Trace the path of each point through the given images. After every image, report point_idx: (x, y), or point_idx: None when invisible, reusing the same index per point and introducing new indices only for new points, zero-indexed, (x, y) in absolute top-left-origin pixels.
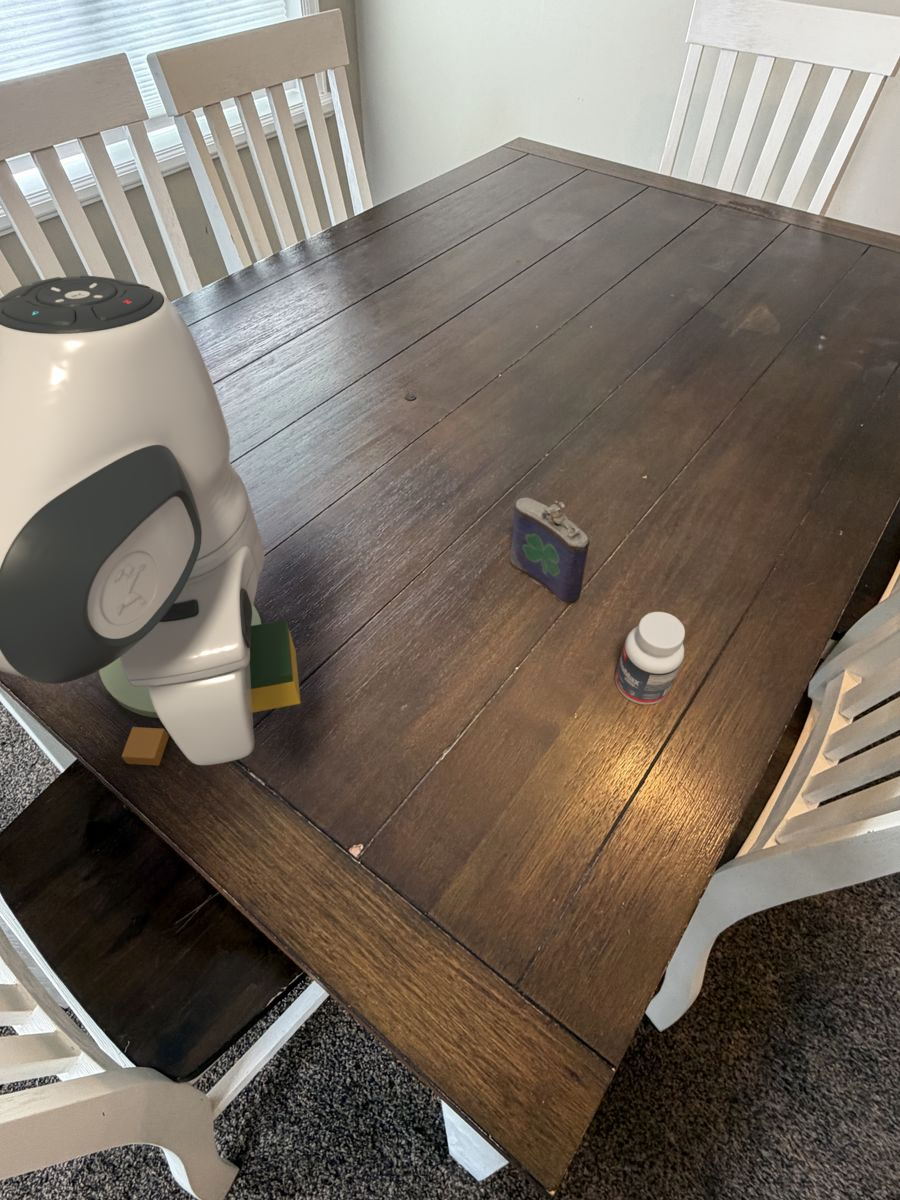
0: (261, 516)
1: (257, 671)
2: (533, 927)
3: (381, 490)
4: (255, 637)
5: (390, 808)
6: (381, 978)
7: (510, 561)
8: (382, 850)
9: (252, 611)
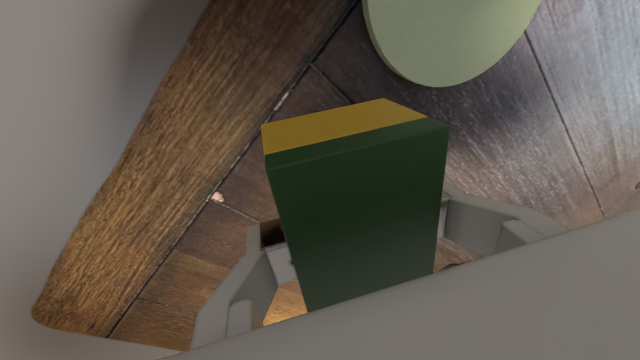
0: (593, 58)
1: (326, 304)
2: (179, 301)
3: (558, 173)
4: (405, 277)
5: (256, 216)
6: (113, 227)
7: (451, 266)
8: (219, 215)
9: (476, 71)
